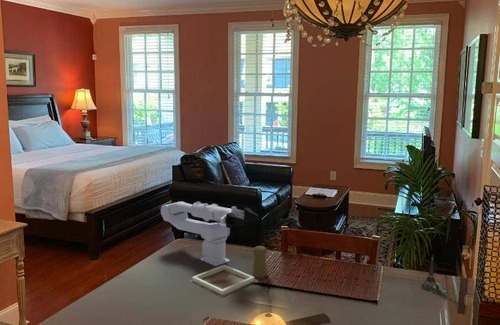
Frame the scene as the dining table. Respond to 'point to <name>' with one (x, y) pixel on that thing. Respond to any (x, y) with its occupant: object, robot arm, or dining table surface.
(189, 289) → the dining table surface
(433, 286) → the eiffel tower figurine
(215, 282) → the board
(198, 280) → the walled square frame
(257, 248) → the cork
